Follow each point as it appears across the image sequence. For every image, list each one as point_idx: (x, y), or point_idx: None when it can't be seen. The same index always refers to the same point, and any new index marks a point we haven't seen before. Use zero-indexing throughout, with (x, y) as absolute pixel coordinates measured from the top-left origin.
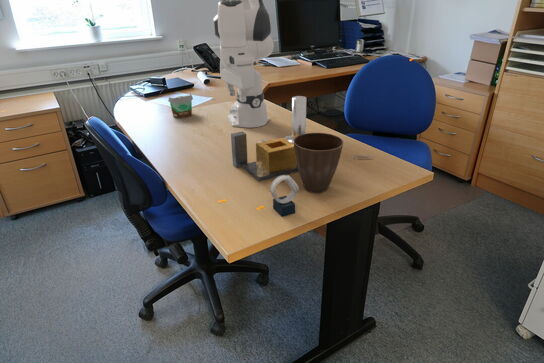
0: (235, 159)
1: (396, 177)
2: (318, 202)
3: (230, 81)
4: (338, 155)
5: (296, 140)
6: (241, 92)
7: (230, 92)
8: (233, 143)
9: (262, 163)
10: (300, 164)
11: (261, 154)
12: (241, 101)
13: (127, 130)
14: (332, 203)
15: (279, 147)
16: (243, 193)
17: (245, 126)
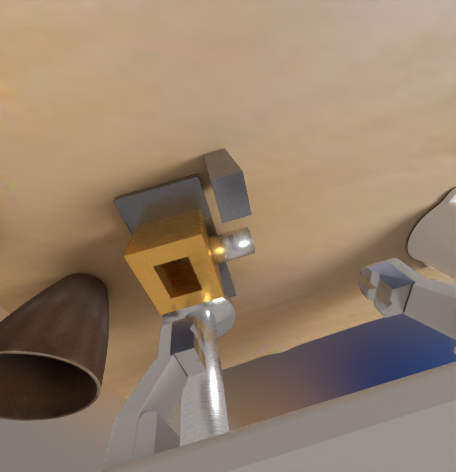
0: (206, 158)
1: (120, 375)
2: (20, 283)
3: (393, 443)
4: (10, 389)
5: (55, 350)
6: (117, 418)
7: (382, 283)
8: (219, 168)
9: (167, 222)
10: (15, 313)
11: (169, 232)
12: (161, 326)
13: None
14: (20, 301)
15: (157, 282)
16: (46, 148)
17: (428, 215)
